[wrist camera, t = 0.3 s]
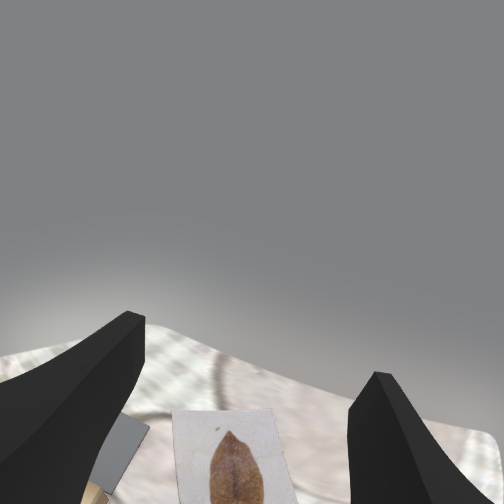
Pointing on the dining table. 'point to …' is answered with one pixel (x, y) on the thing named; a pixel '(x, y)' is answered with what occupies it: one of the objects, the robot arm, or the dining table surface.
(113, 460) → the mat
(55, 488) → the robot arm
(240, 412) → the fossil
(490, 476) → the dining table surface
